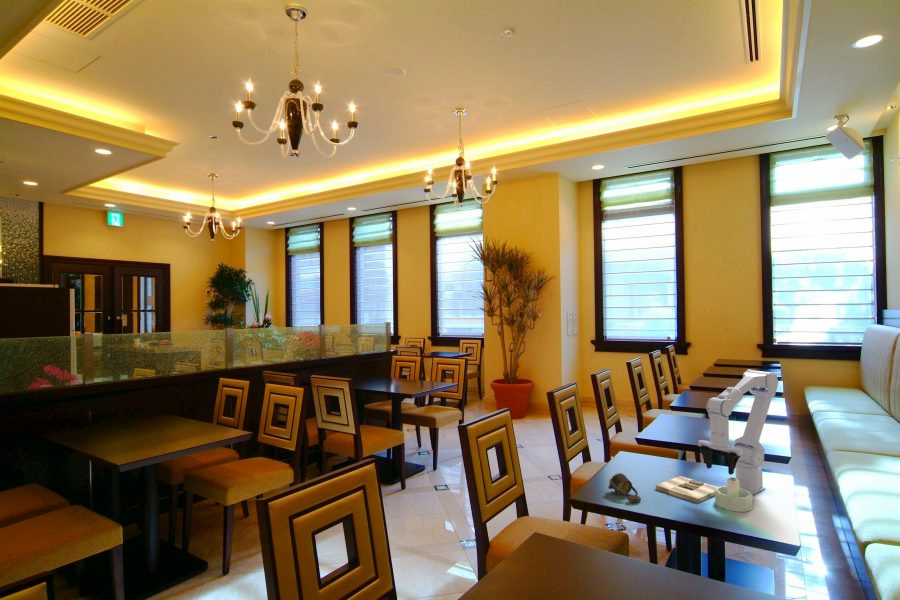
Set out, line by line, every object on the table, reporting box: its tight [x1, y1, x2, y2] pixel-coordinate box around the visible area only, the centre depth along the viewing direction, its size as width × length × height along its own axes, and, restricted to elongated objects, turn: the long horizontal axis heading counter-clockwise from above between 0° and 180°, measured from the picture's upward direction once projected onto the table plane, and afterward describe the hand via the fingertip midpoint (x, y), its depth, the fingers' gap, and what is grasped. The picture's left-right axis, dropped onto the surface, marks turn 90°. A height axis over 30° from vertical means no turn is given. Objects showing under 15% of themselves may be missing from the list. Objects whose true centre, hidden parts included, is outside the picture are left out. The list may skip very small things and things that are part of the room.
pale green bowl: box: [714, 485, 753, 513], centre depth 172 cm, size 11×11×4 cm
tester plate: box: [655, 475, 719, 504], centre depth 185 cm, size 16×16×2 cm
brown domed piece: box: [608, 472, 642, 504], centre depth 181 cm, size 7×13×10 cm
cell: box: [726, 477, 739, 497], centre depth 172 cm, size 4×4×9 cm
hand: (720, 470), depth 178 cm, fingers open, 7 cm apart
